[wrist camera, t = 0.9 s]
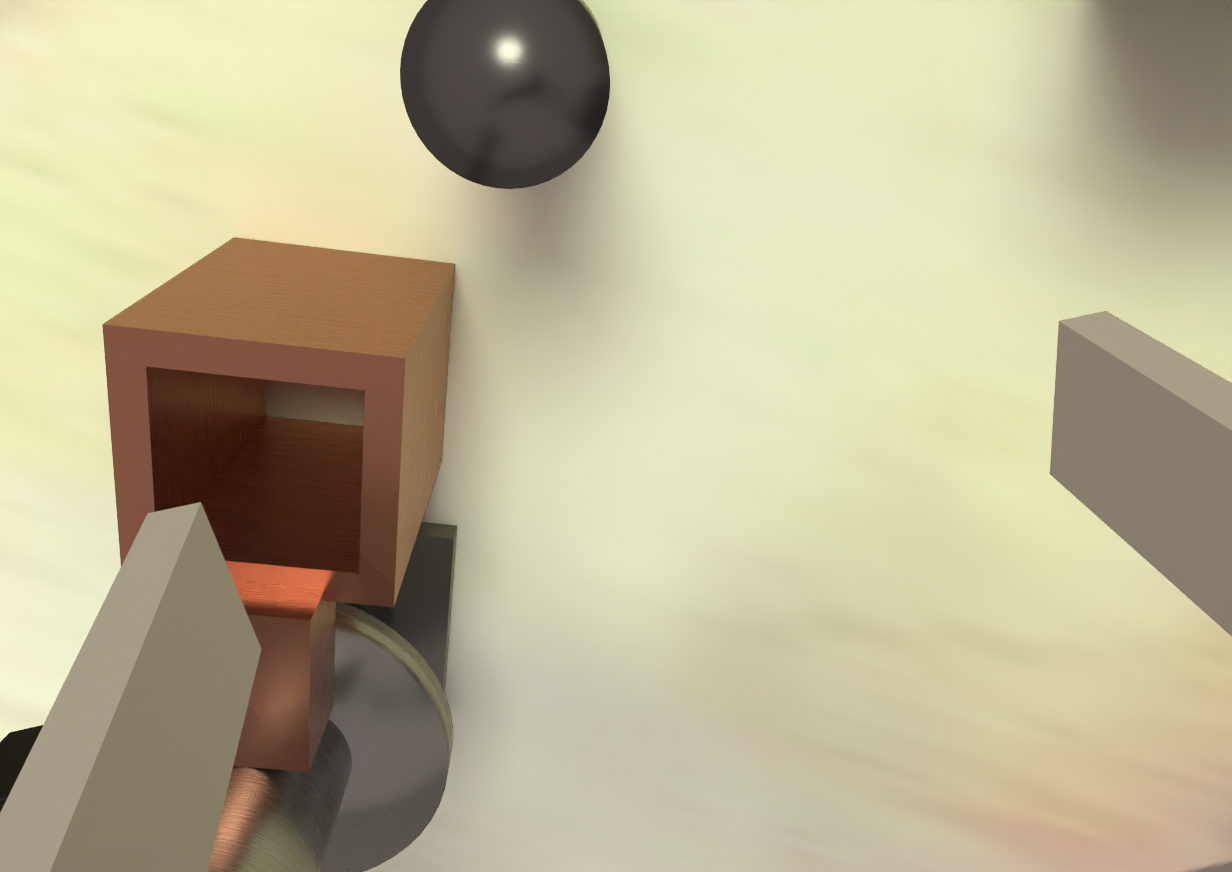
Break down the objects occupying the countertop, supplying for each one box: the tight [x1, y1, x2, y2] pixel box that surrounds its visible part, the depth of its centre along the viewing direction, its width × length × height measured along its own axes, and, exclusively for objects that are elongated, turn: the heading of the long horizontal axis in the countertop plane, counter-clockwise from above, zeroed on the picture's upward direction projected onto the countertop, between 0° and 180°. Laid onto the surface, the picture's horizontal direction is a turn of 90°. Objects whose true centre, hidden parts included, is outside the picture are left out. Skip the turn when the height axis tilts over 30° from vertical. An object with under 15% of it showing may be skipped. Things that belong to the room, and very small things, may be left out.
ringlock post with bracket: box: [103, 238, 457, 872], centre depth 25 cm, size 11×20×29 cm, turn 173°
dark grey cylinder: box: [400, 0, 610, 189], centre depth 26 cm, size 4×4×14 cm
